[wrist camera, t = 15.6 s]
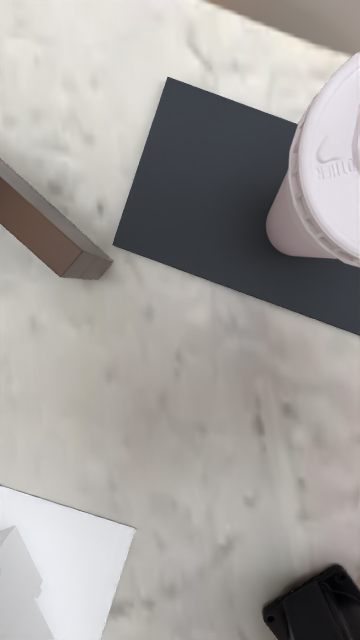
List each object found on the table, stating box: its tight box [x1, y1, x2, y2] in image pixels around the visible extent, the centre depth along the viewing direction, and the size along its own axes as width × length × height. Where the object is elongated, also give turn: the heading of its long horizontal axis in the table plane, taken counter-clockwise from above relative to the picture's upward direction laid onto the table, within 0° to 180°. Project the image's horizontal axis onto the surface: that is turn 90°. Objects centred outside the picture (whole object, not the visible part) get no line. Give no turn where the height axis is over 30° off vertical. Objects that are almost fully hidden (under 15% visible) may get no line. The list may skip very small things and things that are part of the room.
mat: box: [113, 77, 360, 335], centre depth 18 cm, size 20×10×1 cm, turn 70°
